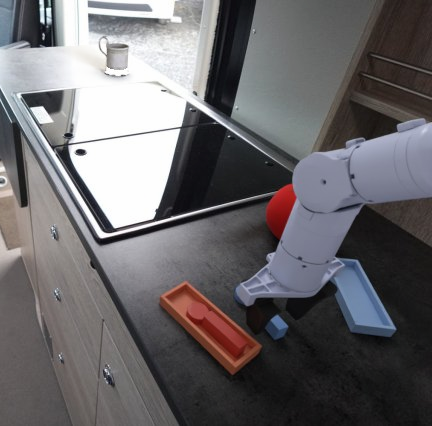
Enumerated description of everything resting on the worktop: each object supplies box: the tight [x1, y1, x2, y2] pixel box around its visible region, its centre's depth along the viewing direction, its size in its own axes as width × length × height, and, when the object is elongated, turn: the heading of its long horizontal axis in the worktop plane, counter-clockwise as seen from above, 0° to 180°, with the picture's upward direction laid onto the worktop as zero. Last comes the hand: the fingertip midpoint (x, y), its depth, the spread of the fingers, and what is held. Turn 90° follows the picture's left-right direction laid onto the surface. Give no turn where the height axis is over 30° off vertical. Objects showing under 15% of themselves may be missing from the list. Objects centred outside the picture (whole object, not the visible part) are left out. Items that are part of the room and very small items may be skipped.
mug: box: [98, 35, 130, 70], centre depth 142 cm, size 14×10×12 cm
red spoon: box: [186, 302, 248, 358], centre depth 50 cm, size 9×3×2 cm, turn 36°
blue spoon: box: [233, 284, 289, 341], centre depth 53 cm, size 9×3×2 cm, turn 21°
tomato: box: [265, 183, 297, 241], centre depth 64 cm, size 11×12×10 cm
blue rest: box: [329, 257, 397, 338], centre depth 56 cm, size 14×5×2 cm, turn 172°
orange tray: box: [158, 280, 263, 376], centre depth 51 cm, size 14×5×2 cm, turn 36°
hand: (272, 321), depth 51 cm, fingers open, 6 cm apart
